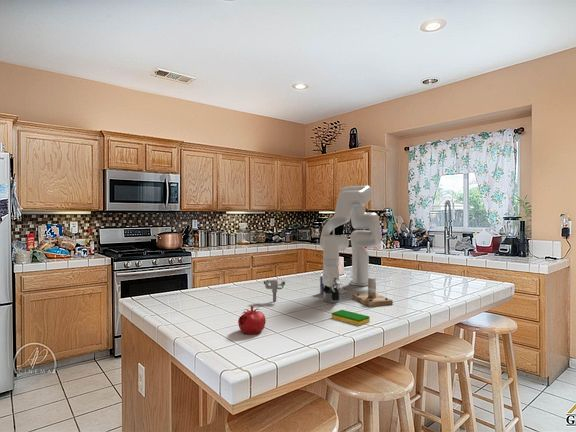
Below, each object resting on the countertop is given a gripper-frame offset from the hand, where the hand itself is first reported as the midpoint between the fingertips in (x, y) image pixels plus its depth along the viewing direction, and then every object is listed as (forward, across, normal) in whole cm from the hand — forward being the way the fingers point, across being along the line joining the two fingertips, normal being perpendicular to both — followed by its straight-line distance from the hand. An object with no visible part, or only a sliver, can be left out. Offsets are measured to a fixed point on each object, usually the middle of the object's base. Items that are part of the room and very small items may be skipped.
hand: (331, 297), depth 172 cm
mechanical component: (+2, -8, -26) cm, 27 cm away
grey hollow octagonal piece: (+2, 0, 0) cm, 2 cm away
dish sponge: (+2, +29, -5) cm, 30 cm away
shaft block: (+2, +7, +18) cm, 19 cm away
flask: (+2, -14, +5) cm, 15 cm away
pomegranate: (+2, +30, -45) cm, 54 cm away
